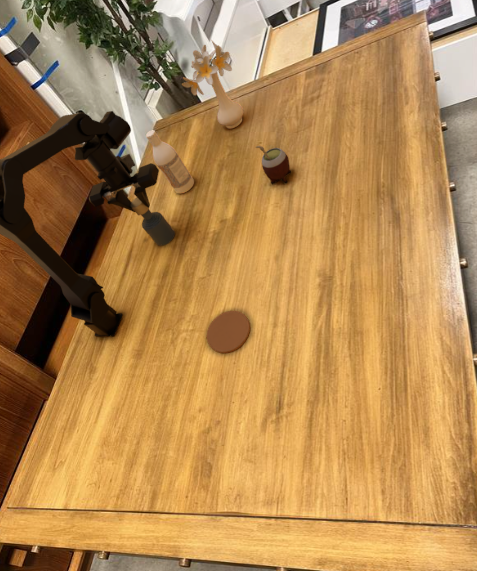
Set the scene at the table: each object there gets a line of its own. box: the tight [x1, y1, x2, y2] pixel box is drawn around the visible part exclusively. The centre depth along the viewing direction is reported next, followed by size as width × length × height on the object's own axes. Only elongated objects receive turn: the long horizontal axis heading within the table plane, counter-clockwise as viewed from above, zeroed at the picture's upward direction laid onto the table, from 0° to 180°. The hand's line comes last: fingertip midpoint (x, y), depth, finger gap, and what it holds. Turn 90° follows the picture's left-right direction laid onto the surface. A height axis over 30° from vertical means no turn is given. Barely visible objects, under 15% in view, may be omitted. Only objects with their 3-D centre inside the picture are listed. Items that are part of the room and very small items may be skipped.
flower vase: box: [181, 39, 244, 130], centre depth 124 cm, size 13×18×25 cm
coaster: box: [206, 310, 251, 354], centre depth 84 cm, size 10×10×1 cm
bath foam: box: [145, 129, 195, 194], centre depth 116 cm, size 7×7×20 cm
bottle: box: [140, 208, 176, 247], centre depth 108 cm, size 6×6×11 cm
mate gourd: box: [255, 145, 292, 185], centre depth 101 cm, size 8×8×15 cm
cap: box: [130, 197, 150, 216], centre depth 103 cm, size 4×4×3 cm
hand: (142, 208), depth 104 cm, fingers closed on cap, 4 cm apart
